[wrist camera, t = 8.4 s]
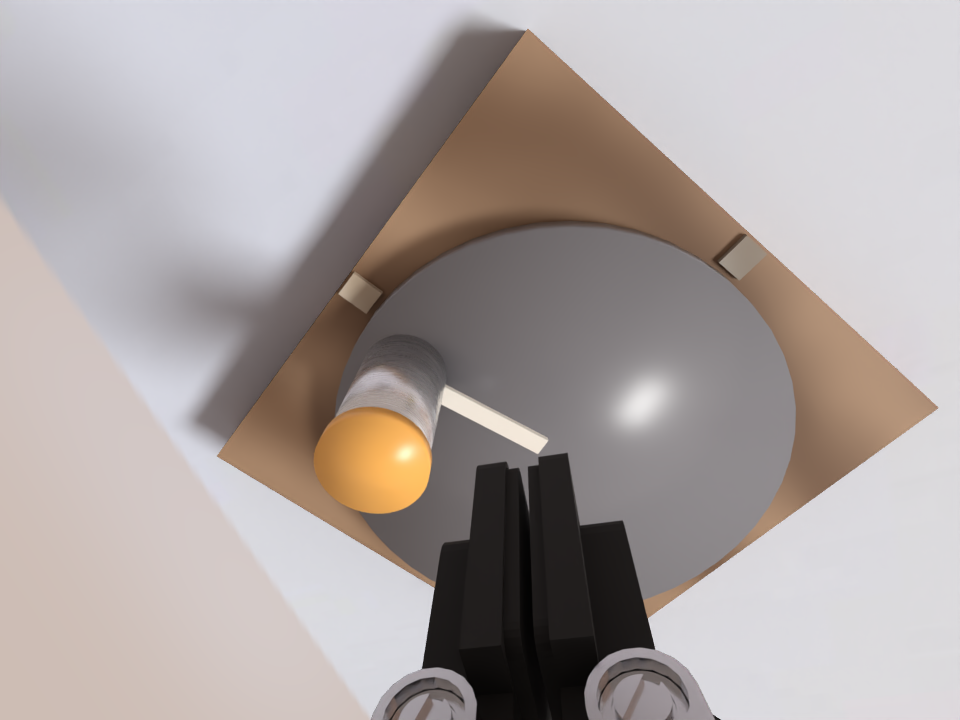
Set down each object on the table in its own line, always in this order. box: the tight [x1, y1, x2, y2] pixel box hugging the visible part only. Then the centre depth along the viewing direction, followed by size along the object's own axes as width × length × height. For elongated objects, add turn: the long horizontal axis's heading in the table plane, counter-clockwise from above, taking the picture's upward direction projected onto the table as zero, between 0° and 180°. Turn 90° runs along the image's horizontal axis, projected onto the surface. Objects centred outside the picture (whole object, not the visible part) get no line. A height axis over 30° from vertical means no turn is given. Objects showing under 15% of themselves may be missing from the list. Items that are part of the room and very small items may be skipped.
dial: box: [314, 221, 796, 600], centre depth 21 cm, size 17×17×7 cm
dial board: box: [217, 29, 938, 618], centre depth 25 cm, size 20×20×2 cm
